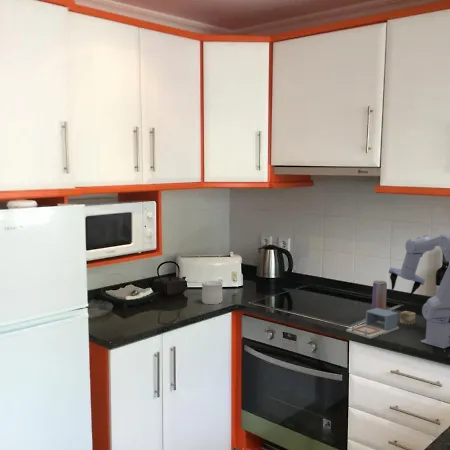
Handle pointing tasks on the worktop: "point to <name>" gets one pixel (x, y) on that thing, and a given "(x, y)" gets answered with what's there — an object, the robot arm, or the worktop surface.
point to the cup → (212, 292)
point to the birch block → (407, 317)
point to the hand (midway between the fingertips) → (401, 292)
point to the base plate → (370, 329)
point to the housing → (382, 317)
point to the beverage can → (379, 294)
